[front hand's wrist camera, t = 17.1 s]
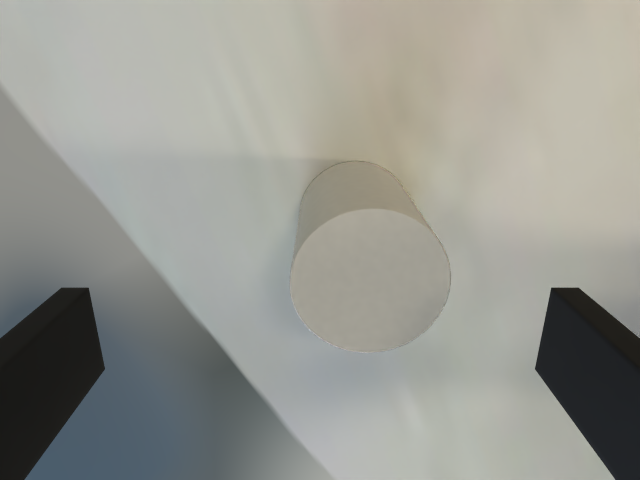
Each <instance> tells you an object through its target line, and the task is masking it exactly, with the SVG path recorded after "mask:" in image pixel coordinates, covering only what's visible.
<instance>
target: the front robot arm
mask: <svg viewBox="0 0 640 480" xmlns="http://www.w3.org/2000/svg"><path fill="white" fill-rule="evenodd" d="M104 370H105V367H104V362H103V357H102V352H101V347H100V342H99V337H98V332H97V327H96V322H95V317H94V312H93V307H92V302H91V297H90V292H89V288H61V289H59V290H58V291H57V292H56V293H55V294H53V295H52V296H51V297H50V298H49V299H47V300H46V301H45V302H44V303H43V304H41V305H40V306H39V307H38V308H37V309H35V310H34V311H33V312H32V313H31V314H29V315H28V316H27V317H26V318H24V319H23V320H22V321H21V322H20V323H18V324H17V325H16V326H15V327H14V328H12V329H11V330H10V331H9V332H8V333H6V334H5V335H4V336H3V337H1V338H0V480H24V479H25V478H26V477H27V475H28V474H29V473H30V471H31V470H32V468H33V467H34V466H35V464H36V463H37V462H38V460H39V459H40V458H41V456H42V455H43V453H44V452H45V451H46V449H47V448H48V447H49V445H50V444H51V442H52V441H53V440H54V438H55V437H56V436H57V434H58V433H59V431H60V430H61V429H62V427H63V426H64V425H65V423H66V422H67V420H68V419H69V418H70V416H71V415H72V414H73V412H74V411H75V409H76V408H77V407H78V405H79V404H80V403H81V401H82V400H83V398H84V397H85V396H86V394H87V393H88V392H89V390H90V389H91V387H92V386H93V385H94V383H95V382H96V381H97V379H98V378H99V376H100V375H101V374H102V372H103V371H104ZM535 370H536V371H537V372H538V374H539V375H540V376H541V378H542V379H543V381H544V382H545V383H546V385H547V386H548V387H549V389H550V390H551V392H552V393H553V394H554V396H555V397H556V398H557V400H558V401H559V403H560V404H561V405H562V407H563V408H564V409H565V411H566V412H567V414H568V415H569V416H570V418H571V419H572V420H573V422H574V423H575V425H576V426H577V427H578V429H579V430H580V431H581V433H582V434H583V436H584V437H585V438H586V440H587V441H588V442H589V444H590V445H591V447H592V448H593V449H594V451H595V452H596V453H597V455H598V456H599V458H600V459H601V460H602V462H603V463H604V464H605V466H606V467H607V469H608V470H609V471H610V473H611V474H612V475H613V477H614V478H615V479H616V480H640V338H639V337H637V336H636V335H635V334H634V333H632V332H631V331H630V330H629V329H628V328H626V327H625V326H624V325H623V324H622V323H620V322H619V321H618V320H617V319H616V318H614V317H613V316H612V315H611V314H610V313H608V312H607V311H606V310H605V309H603V308H602V307H601V306H600V305H599V304H597V303H596V302H595V301H594V300H593V299H591V298H590V297H589V296H588V295H587V294H585V293H584V292H583V291H582V290H581V289H579V288H551V292H550V297H549V302H548V307H547V312H546V317H545V322H544V327H543V332H542V337H541V342H540V347H539V352H538V357H537V362H536V367H535Z"/></svg>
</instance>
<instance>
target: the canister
mask: <svg viewBox="0 0 640 480" xmlns="http://www.w3.org/2000/svg"><path fill="white" fill-rule="evenodd" d="M450 284H451V271H450V264H449V261H448V257H447V254H446V252H445V250H444V248H443V246H442V244H441V242H440V241H439V239H438V238H437V236H436V235H435V233H434V232H433V231H432V229H431V228H430V226H429V225H428V223H427V222H426V220H425V219H424V217H423V216H422V214H421V213H420V211H419V210H418V208H417V207H416V206H415V204H414V203H413V201H412V200H411V198H410V197H409V195H408V194H407V192H406V191H405V189H404V188H403V186H402V185H401V183H400V182H399V181H398V180H397V179H396V177H395V176H393V175H392V174H391V173H390V172H389V171H387V170H385V169H384V168H382V167H380V166H378V165H375V164H372V163H368V162H362V161H351V162H344V163H340V164H337V165H334V166H332V167H330V168H328V169H326V170H325V171H323V172H322V173H320V174H319V175H318V176H317V177H316V178H315V179H314V180H313V181H312V182H311V184H310V185H309V187H308V188H307V190H306V192H305V194H304V196H303V199H302V202H301V207H300V213H299V220H298V226H297V233H296V239H295V246H294V253H293V259H292V266H291V272H290V293H291V298H292V302H293V305H294V307H295V310H296V312H297V314H298V316H299V317H300V319H301V320H302V322H303V323H304V324H305V325H306V327H307V328H308V329H309V330H310V331H311V332H312V333H314V334H315V335H316V336H317V337H319V338H320V339H321V340H323V341H325V342H327V343H328V344H330V345H333V346H335V347H338V348H340V349H344V350H348V351H353V352H363V353H372V352H381V351H387V350H391V349H394V348H397V347H400V346H402V345H405V344H407V343H409V342H410V341H412V340H414V339H416V338H417V337H418V336H420V335H421V334H423V333H424V332H425V331H426V330H427V329H428V328H429V327H430V326H431V325H432V324H433V323H434V322H435V320H436V319H437V318H438V316H439V315H440V313H441V312H442V310H443V308H444V305H445V303H446V301H447V298H448V294H449V290H450Z"/></svg>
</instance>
